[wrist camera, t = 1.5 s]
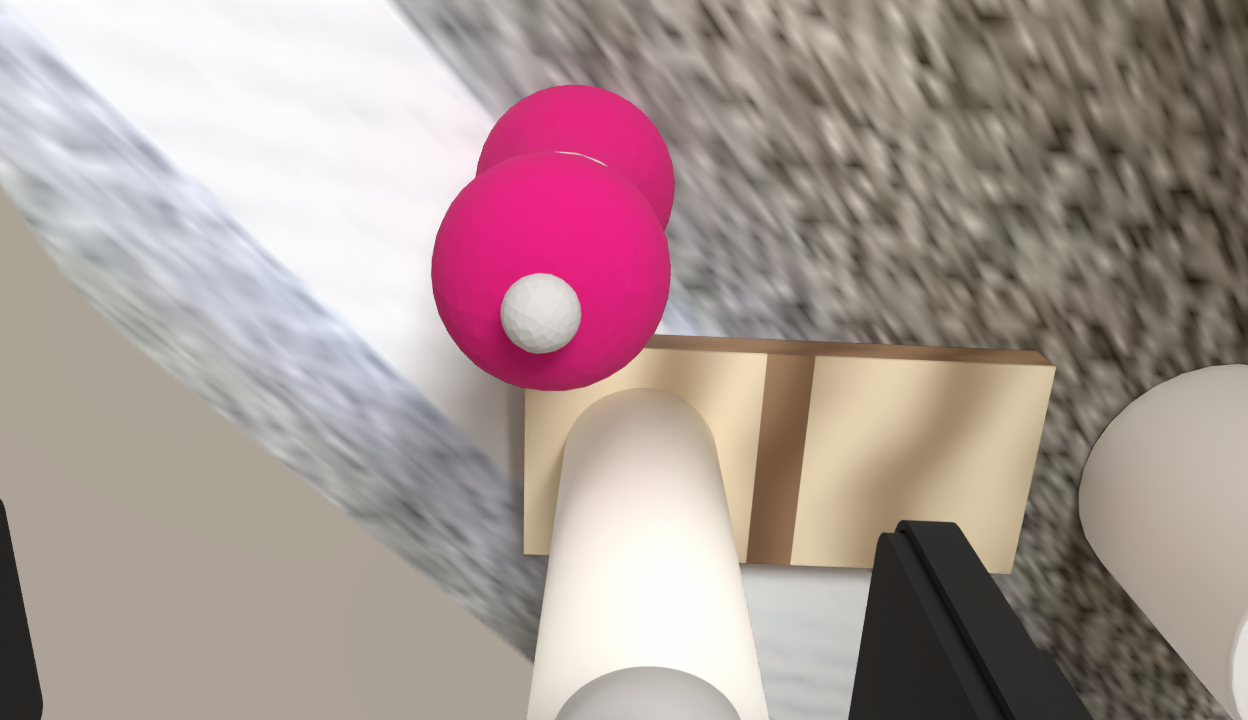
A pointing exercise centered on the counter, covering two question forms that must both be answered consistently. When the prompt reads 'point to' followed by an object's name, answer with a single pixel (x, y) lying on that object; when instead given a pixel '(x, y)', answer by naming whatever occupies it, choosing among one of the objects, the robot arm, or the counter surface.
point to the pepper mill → (559, 242)
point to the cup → (1181, 519)
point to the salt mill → (644, 574)
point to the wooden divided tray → (831, 441)
